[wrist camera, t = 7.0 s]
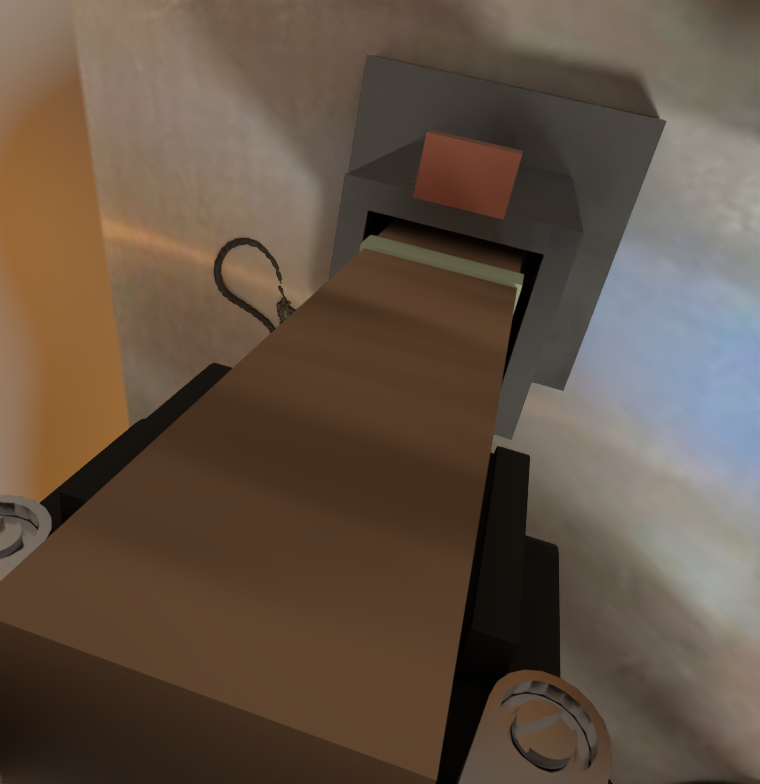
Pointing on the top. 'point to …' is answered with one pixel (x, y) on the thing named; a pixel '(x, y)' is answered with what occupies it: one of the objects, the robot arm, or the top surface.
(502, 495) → the robot arm
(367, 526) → the column
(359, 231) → the sleeve
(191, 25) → the top surface
